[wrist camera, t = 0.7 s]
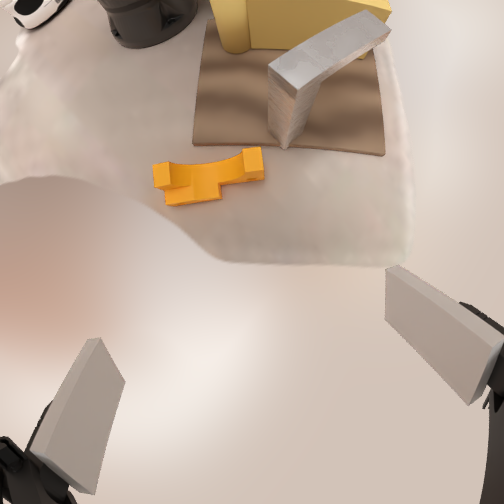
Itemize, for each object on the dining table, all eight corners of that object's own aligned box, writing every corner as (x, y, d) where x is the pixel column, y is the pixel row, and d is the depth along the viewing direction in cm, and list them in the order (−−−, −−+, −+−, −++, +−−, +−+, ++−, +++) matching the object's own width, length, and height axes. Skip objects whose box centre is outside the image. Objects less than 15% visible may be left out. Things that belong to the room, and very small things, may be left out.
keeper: (283, 150, 34) (297, 89, 17) (267, 134, 34) (268, 64, 17) (346, 99, 32) (391, 29, 16) (331, 85, 32) (366, 9, 15)
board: (209, 23, 32) (207, 19, 31) (366, 33, 31) (368, 29, 30) (194, 146, 34) (192, 143, 33) (382, 156, 33) (385, 154, 32)
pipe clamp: (174, 206, 35) (155, 202, 29) (171, 174, 35) (152, 165, 29) (266, 193, 35) (266, 186, 28) (261, 160, 34) (260, 146, 28)
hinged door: (220, 54, 31) (198, -20, 16) (223, 32, 31) (204, -39, 16) (364, 64, 30) (403, 0, 15) (360, 42, 30) (393, -22, 15)
